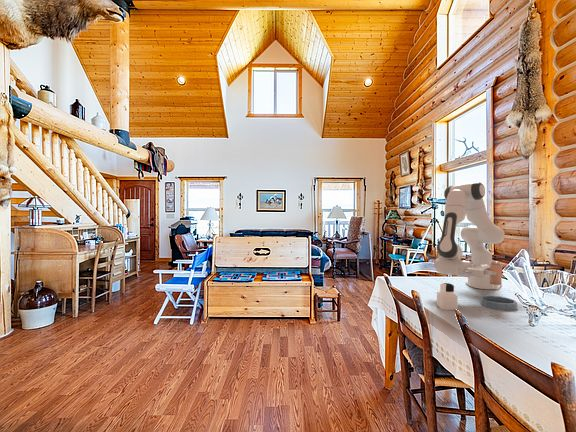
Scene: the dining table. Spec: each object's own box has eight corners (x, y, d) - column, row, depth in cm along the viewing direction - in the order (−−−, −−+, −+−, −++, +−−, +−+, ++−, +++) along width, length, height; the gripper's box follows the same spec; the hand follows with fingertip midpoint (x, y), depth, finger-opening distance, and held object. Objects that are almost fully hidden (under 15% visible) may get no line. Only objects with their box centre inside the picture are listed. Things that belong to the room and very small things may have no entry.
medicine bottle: (451, 306, 154) (451, 282, 154) (457, 310, 147) (457, 285, 147) (436, 305, 155) (436, 282, 154) (442, 309, 147) (442, 285, 147)
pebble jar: (491, 282, 158) (492, 260, 158) (503, 284, 154) (503, 261, 154) (488, 283, 155) (488, 261, 155) (499, 285, 151) (499, 262, 151)
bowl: (487, 299, 165) (487, 294, 165) (521, 306, 153) (521, 300, 153) (475, 304, 156) (475, 298, 156) (510, 312, 144) (510, 306, 144)
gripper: (461, 265, 156) (493, 269, 147) (471, 261, 171) (501, 263, 162) (461, 277, 156) (493, 282, 147) (471, 272, 171) (501, 275, 162)
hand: (497, 272), depth 154 cm, fingers closed on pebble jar, 5 cm apart
